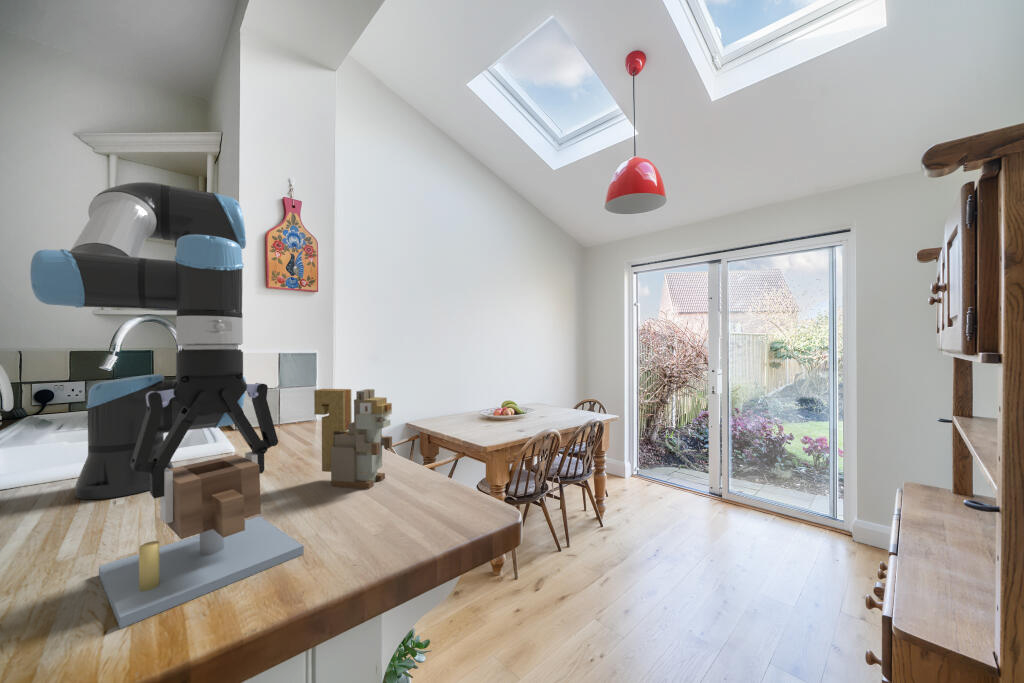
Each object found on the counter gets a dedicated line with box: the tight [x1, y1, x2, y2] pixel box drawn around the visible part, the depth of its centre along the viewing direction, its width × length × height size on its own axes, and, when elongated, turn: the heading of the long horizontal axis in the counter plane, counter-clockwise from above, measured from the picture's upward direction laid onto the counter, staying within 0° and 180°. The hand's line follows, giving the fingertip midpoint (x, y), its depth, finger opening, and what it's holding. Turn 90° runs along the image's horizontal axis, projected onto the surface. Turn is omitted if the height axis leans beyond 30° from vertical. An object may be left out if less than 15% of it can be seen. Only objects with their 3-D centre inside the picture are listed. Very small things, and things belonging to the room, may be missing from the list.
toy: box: [313, 388, 393, 490], centre depth 87 cm, size 6×17×20 cm, turn 78°
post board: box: [98, 515, 305, 630], centre depth 55 cm, size 16×19×9 cm
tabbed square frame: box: [166, 454, 262, 540], centre depth 55 cm, size 13×9×7 cm
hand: (212, 507), depth 56 cm, fingers closed on tabbed square frame, 9 cm apart
